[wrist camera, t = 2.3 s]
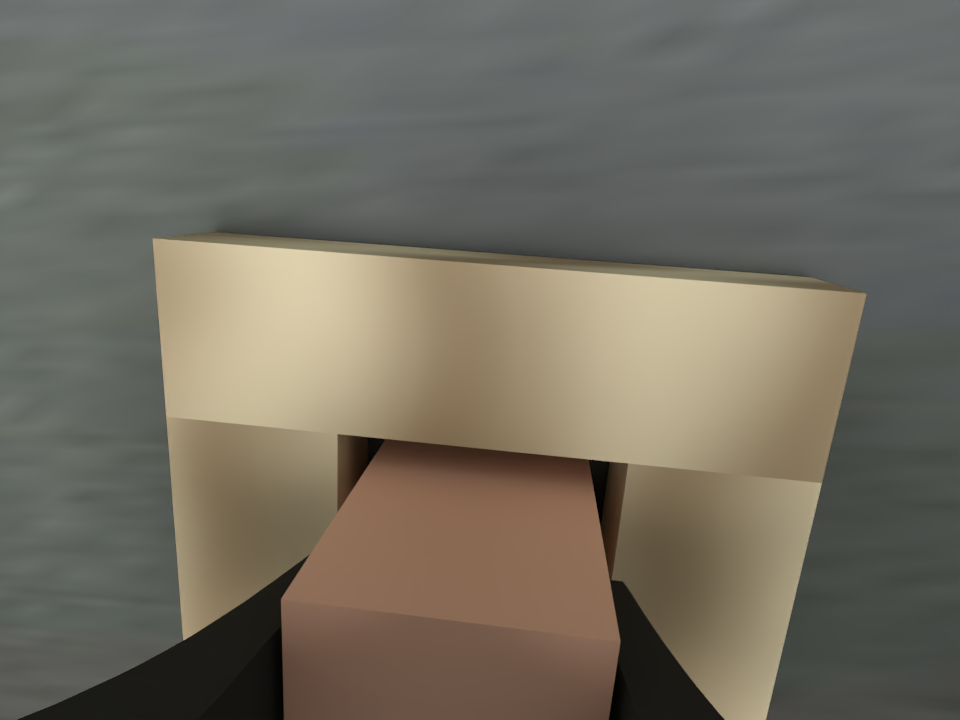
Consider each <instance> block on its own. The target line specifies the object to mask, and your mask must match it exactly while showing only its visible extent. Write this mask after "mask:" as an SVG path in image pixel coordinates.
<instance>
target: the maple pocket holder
mask: <svg viewBox="0 0 960 720" xmlns="http://www.w3.org/2000/svg"><path fill="white" fill-rule="evenodd" d="M153 248H154V261H155V275H156V288H157V301H158V314H159V327H160V340H161V353H162V366H163V379H164V392H165V406H166V419H167V432H168V445H169V458H170V471H171V484H172V497H173V510H174V523H175V537H176V550H177V563H178V576H179V589H180V602H181V615H182V628H183V641H184V640H185V639H187V638H189V637H190V636H192V635H194V634H195V633H197V632H198V631H200V630H201V629H203V628H205V627H206V626H208V625H209V624H211V623H212V622H214V621H215V620H217V619H219V618H220V617H222V616H223V615H225V614H226V613H228V612H229V611H231V610H233V609H234V608H236V607H237V606H239V605H240V604H242V603H243V602H245V601H246V600H248V599H249V598H250V597H252V596H253V595H255V594H256V593H257V592H259V591H260V590H262V589H263V588H264V587H266V586H267V585H269V584H270V583H271V582H273V581H274V580H276V579H277V578H278V577H280V576H281V575H282V574H284V573H285V572H287V571H288V570H289V569H291V568H292V567H293V566H295V565H296V564H297V563H299V562H300V561H301V560H303V559H304V558H305V557H307V556H308V555H310V554H311V552H312V551H313V549H314V548H315V546H316V545H317V543H318V542H319V540H320V539H321V537H322V536H323V534H324V533H325V531H326V529H327V528H328V526H329V525H330V523H331V522H332V520H333V519H334V517H335V516H336V514H337V513H338V511H339V510H340V508H341V507H342V505H343V503H344V502H345V500H346V499H347V497H348V496H349V494H350V493H351V491H352V490H353V488H354V487H355V485H356V484H357V482H358V481H359V479H360V478H361V476H362V474H363V473H364V471H365V470H366V468H367V462H368V437H372V438H382V439H391V440H401V441H411V442H421V443H431V444H441V445H451V446H460V447H470V448H480V449H490V450H500V451H510V452H520V453H530V454H539V455H549V456H559V457H569V458H579V459H589V460H599V461H608V462H609V469H608V476H607V484H606V491H605V499H604V506H603V514H602V521H601V533H602V539H603V545H604V550H605V556H606V562H607V567H608V573H609V579H610V580H616V581H623V582H624V583H625V585H626V586H627V587H628V589H629V590H630V592H631V593H632V595H633V597H634V598H635V600H636V601H637V603H638V604H639V606H640V608H641V609H642V611H643V612H644V614H645V615H646V617H647V618H648V620H649V621H650V623H651V624H652V626H653V627H654V629H655V630H656V632H657V633H658V635H659V636H660V637H661V639H662V640H663V642H664V643H665V645H666V646H667V647H668V649H669V650H670V651H671V653H672V654H673V655H674V657H675V658H676V660H677V661H678V662H679V664H680V665H681V666H682V668H683V669H684V670H685V672H686V673H687V674H688V676H689V677H690V678H691V679H692V681H693V682H694V683H695V685H696V686H697V687H698V688H699V690H700V691H701V692H702V693H703V694H704V696H705V697H706V698H707V699H708V700H709V702H710V703H711V704H712V705H713V707H714V708H715V709H716V710H717V711H718V713H719V714H720V715H721V716H722V717H723V718H724V719H725V720H766V717H767V713H768V708H769V704H770V700H771V696H772V692H773V687H774V683H775V679H776V675H777V671H778V666H779V662H780V658H781V654H782V649H783V645H784V641H785V637H786V633H787V628H788V624H789V620H790V616H791V611H792V607H793V603H794V599H795V595H796V590H797V586H798V582H799V578H800V574H801V569H802V565H803V561H804V557H805V552H806V548H807V544H808V540H809V536H810V531H811V527H812V523H813V519H814V515H815V510H816V506H817V502H818V498H819V493H820V489H821V485H822V481H823V477H824V472H825V468H826V464H827V460H828V455H829V451H830V447H831V443H832V439H833V434H834V430H835V426H836V422H837V418H838V413H839V409H840V405H841V401H842V396H843V392H844V388H845V384H846V380H847V375H848V371H849V367H850V363H851V359H852V354H853V350H854V346H855V342H856V337H857V333H858V329H859V325H860V321H861V316H862V312H863V308H864V304H865V300H866V295H867V293H863V292H860V291H856V290H853V289H849V288H846V287H843V286H839V285H836V284H832V283H829V282H825V281H822V280H819V279H815V278H812V277H801V276H788V275H775V274H762V273H749V272H735V271H722V270H709V269H696V268H683V267H669V266H656V265H643V264H630V263H617V262H603V261H590V260H577V259H564V258H551V257H538V256H524V255H511V254H498V253H485V252H472V251H458V250H445V249H432V248H419V247H406V246H392V245H379V244H366V243H353V242H340V241H326V240H313V239H300V238H287V237H274V236H261V235H247V234H234V233H221V232H211V233H201V234H191V235H181V236H171V237H161V238H153Z"/></svg>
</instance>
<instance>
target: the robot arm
mask: <svg viewBox="0 0 960 720" xmlns="http://www.w3.org/2000/svg"><path fill="white" fill-rule="evenodd" d="M308 557H309V555H308V556H307V557H305V558H304V559H303V560H301V561H300V562H299V563H297V564H296V565H295V566H293V567H292V568H291V569H289V570H288V571H287V572H285V573H284V574H282V575H281V576H280V577H278V578H277V579H276V580H274V581H273V582H271V583H270V584H269V585H267V586H266V587H264V588H263V589H262V590H260V591H259V592H257V593H256V594H255V595H253V596H252V597H250V598H249V599H248V600H246V601H245V602H243V603H242V604H240V605H239V606H237V607H236V608H234V609H233V610H231V611H229V612H228V613H226V614H225V615H223V616H222V617H220V618H219V619H217V620H215V621H214V622H212V623H211V624H209V625H208V626H206V627H205V628H203V629H201V630H200V631H198V632H197V633H195V634H194V635H192V636H190V637H189V638H187V639H185V640H184V641H182V642H180V643H178V644H177V645H175V646H173V647H171V648H170V649H168V650H166V651H164V652H162V653H161V654H159V655H157V656H155V657H153V658H151V659H149V660H148V661H146V662H144V663H142V664H140V665H138V666H136V667H134V668H132V669H130V670H128V671H126V672H124V673H122V674H120V675H118V676H116V677H114V678H112V679H110V680H107V681H105V682H103V683H101V684H99V685H96V686H94V687H92V688H90V689H88V690H86V691H83V692H81V693H79V694H77V695H75V696H73V697H70V698H68V699H66V700H64V701H62V702H59V703H57V704H55V705H52V706H50V707H48V708H45V709H43V710H40V711H38V712H35V713H33V714H30V715H28V716H25V717H23V718H20V719H18V720H284V701H283V661H282V621H281V598H282V597H283V595H284V594H285V592H286V591H287V589H288V588H289V586H290V584H291V583H292V581H293V580H294V578H295V577H296V575H297V574H298V572H299V571H300V569H301V568H302V566H303V565H304V563H305V562H306V560H307V558H308ZM610 584H611V590H612V596H613V601H614V607H615V613H616V618H617V624H618V630H619V635H620V641H621V642H620V649H619V655H618V662H617V668H616V675H615V682H614V688H613V695H612V701H611V708H610V715H609V720H725V719H724V718H723V717H722V716H721V715H720V714H719V713H718V711H717V710H716V709H715V708H714V707H713V705H712V704H711V703H710V702H709V700H708V699H707V698H706V697H705V696H704V694H703V693H702V692H701V691H700V690H699V688H698V687H697V686H696V685H695V683H694V682H693V681H692V679H691V678H690V677H689V676H688V674H687V673H686V672H685V670H684V669H683V668H682V666H681V665H680V664H679V662H678V661H677V660H676V658H675V657H674V655H673V654H672V653H671V651H670V650H669V649H668V647H667V646H666V645H665V643H664V642H663V640H662V639H661V637H660V636H659V635H658V633H657V632H656V630H655V629H654V627H653V626H652V624H651V623H650V621H649V620H648V618H647V617H646V615H645V614H644V612H643V611H642V609H641V608H640V606H639V604H638V603H637V601H636V600H635V598H634V597H633V595H632V593H631V592H630V590H629V589H628V587H627V586H626V585H625V583H624V582H623V581H616V580H610Z"/></svg>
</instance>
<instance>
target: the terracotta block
mask: <svg viewBox="0 0 960 720" xmlns="http://www.w3.org/2000/svg"><path fill="white" fill-rule="evenodd" d="M281 621H282V661H283V701H284V720H609V715H610V708H611V701H612V695H613V688H614V682H615V675H616V668H617V662H618V655H619V649H620V642H621V641H620V635H619V630H618V624H617V618H616V613H615V607H614V601H613V596H612V590H611V584H610V579H609V573H608V567H607V562H606V556H605V550H604V545H603V539H602V533H601V527H600V522H599V516H598V510H597V505H596V499H595V493H594V488H593V482H592V476H591V471H590V465H589V459H579V458H569V457H559V456H549V455H539V454H530V453H520V452H510V451H500V450H490V449H480V448H470V447H460V446H451V445H441V444H431V443H421V442H411V441H401V440H391V439H385V441H384V442H383V444H382V445H381V447H380V448H379V450H378V452H377V453H376V455H375V456H374V458H373V459H372V461H371V462H370V464H369V465H368V467H367V468H366V470H365V471H364V473H363V474H362V476H361V478H360V479H359V481H358V482H357V484H356V485H355V487H354V488H353V490H352V491H351V493H350V494H349V496H348V497H347V499H346V500H345V502H344V503H343V505H342V507H341V508H340V510H339V511H338V513H337V514H336V516H335V517H334V519H333V520H332V522H331V523H330V525H329V526H328V528H327V529H326V531H325V533H324V534H323V536H322V537H321V539H320V540H319V542H318V543H317V545H316V546H315V548H314V549H313V551H312V552H311V554H310V555H309V557H308V558H307V560H306V562H305V563H304V565H303V566H302V568H301V569H300V571H299V572H298V574H297V575H296V577H295V578H294V580H293V581H292V583H291V584H290V586H289V588H288V589H287V591H286V592H285V594H284V595H283V597H282V598H281Z"/></svg>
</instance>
